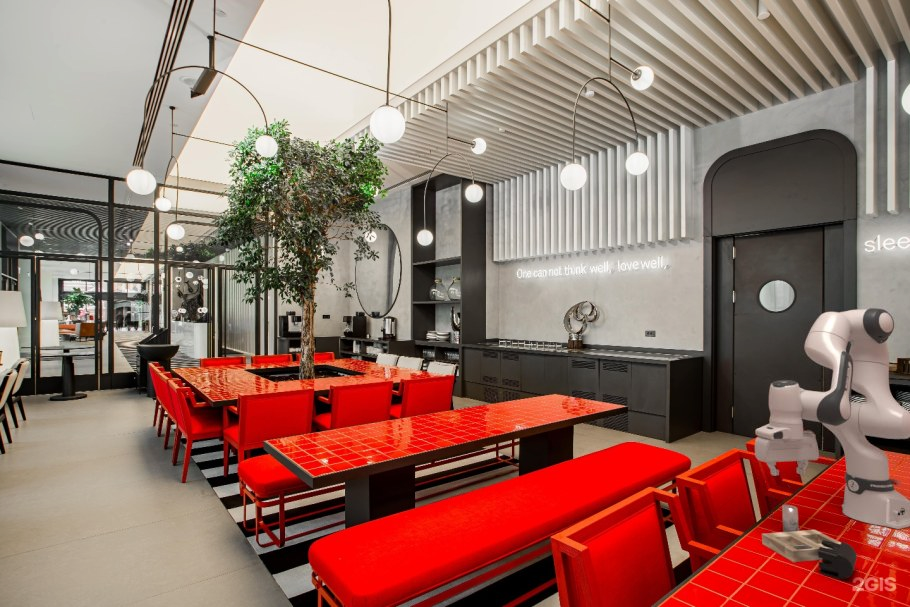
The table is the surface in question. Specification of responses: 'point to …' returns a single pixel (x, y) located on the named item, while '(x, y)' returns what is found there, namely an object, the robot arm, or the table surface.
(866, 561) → the table surface
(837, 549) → the end cap
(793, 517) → the metal pin
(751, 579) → the table surface
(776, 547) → the beige rectangular frame
